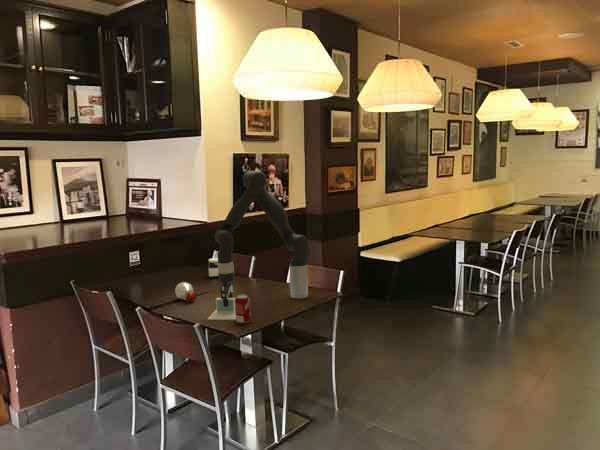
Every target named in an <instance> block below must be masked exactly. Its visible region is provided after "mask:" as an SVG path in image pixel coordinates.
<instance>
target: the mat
mask: <svg viewBox="0 0 600 450" xmlns="http://www.w3.org/2000/svg"><path fill="white" fill-rule="evenodd" d="M207 321H236V313H235V312H217V311H216V309H215V310H214V311H213V312H212V313H211V315H209V316H208V318H207Z"/></svg>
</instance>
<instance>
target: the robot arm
mask: <svg viewBox="0 0 600 450" xmlns="http://www.w3.org/2000/svg"><path fill="white" fill-rule="evenodd" d="M242 183H243V185H244V187H245V189H246V190H245V192H244V193H243V194H242V195H241V197H240V198H238V200H237V201H236V202H235V203H234V204H233V206H232V207H231V209H230V210H229V211H228V213H227V215H226V216H225V219H224V220H223V222H222V223H221V224H220V225H219V227H217V229H216V232H215V234H214V241H215V242H216V243H217V244H219V250H218V252H217V258H218V275H219V278H218V282H220V283H222V286H220V288H219V289H220V298H221V299H223V306H224V307H228V298H234V292H235V285H234V282H235V280H236V279H235V269H234V267H235V266H234V260H233V259H234V257H233V251H234V250H233V249H234V236H233V234H232V232H233V231H234V230H235V229H237V228H238V227H239V226H240V224H241V222H242V221H243V218H244V216H245V215H246V213H247V211H248V210H249V208H250V207H251V205H252V204H253V202H254V201H255V200H256V202H257V203H258V205H259V206H260V208H261V209H262V211H263V212H264V214H265V215H266V217H267V218H268V220H269V222H270V223H271V224H272V226H273V227H274V229H275V230H276V231H277V232H278V234H279V235H280V237H281V239H282V241H283V243H284V245H285V247H286V248H287V250H289V251H291V252H293V257H292V258H290V259H289V260H288V261H289V280H290V282H289V284H290V286H289V288H290V297H291V298H292V299H299V300H300V299H305V298H308V297H309V287H308V286H309V284H308V283H309V282H308V281H309V280H308V260H309V240H308V238H307V237H306V236H305V235H303V234H296V233H295V231H294V230H293V229H292V228H291V226H290V224H289V218H288V214H287V212H286V210H285V208H284V206H283V205H282V204H281V202H279V200H277V199H276V198H275V197H274V196H273V195H272V194H271V193H270V192H269V191H268V190H267V189H266V188H265V187H266V184H267V175H266V174H265V173H263V172H262V171H259V170H248V171H246V172H244V174H243V176H242Z"/></svg>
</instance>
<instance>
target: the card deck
mask: <svg viewBox="0 0 600 450" xmlns="http://www.w3.org/2000/svg"><path fill="white" fill-rule="evenodd" d="M235 299H236V297H233V298H228V307H224V306H223V299H221V297H216V298H215V307H216V309H215V310H216V311H217V312H235Z"/></svg>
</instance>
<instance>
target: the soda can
mask: <svg viewBox="0 0 600 450" xmlns="http://www.w3.org/2000/svg"><path fill="white" fill-rule="evenodd" d="M235 313H236V320H235V322H236V323H238V324H247V323H249V322H251V320H252V315H251V299H250V297H249V295H248V294H239V295H236V296H235Z"/></svg>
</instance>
